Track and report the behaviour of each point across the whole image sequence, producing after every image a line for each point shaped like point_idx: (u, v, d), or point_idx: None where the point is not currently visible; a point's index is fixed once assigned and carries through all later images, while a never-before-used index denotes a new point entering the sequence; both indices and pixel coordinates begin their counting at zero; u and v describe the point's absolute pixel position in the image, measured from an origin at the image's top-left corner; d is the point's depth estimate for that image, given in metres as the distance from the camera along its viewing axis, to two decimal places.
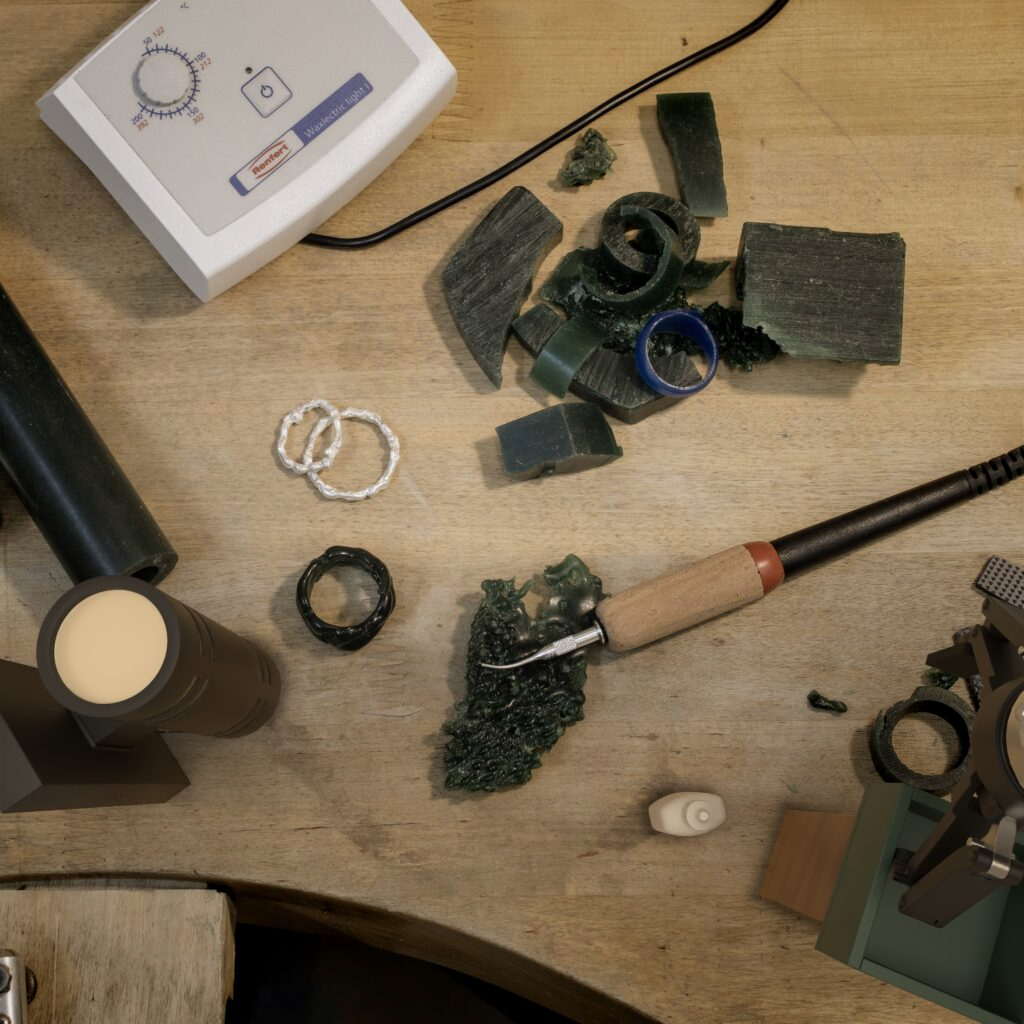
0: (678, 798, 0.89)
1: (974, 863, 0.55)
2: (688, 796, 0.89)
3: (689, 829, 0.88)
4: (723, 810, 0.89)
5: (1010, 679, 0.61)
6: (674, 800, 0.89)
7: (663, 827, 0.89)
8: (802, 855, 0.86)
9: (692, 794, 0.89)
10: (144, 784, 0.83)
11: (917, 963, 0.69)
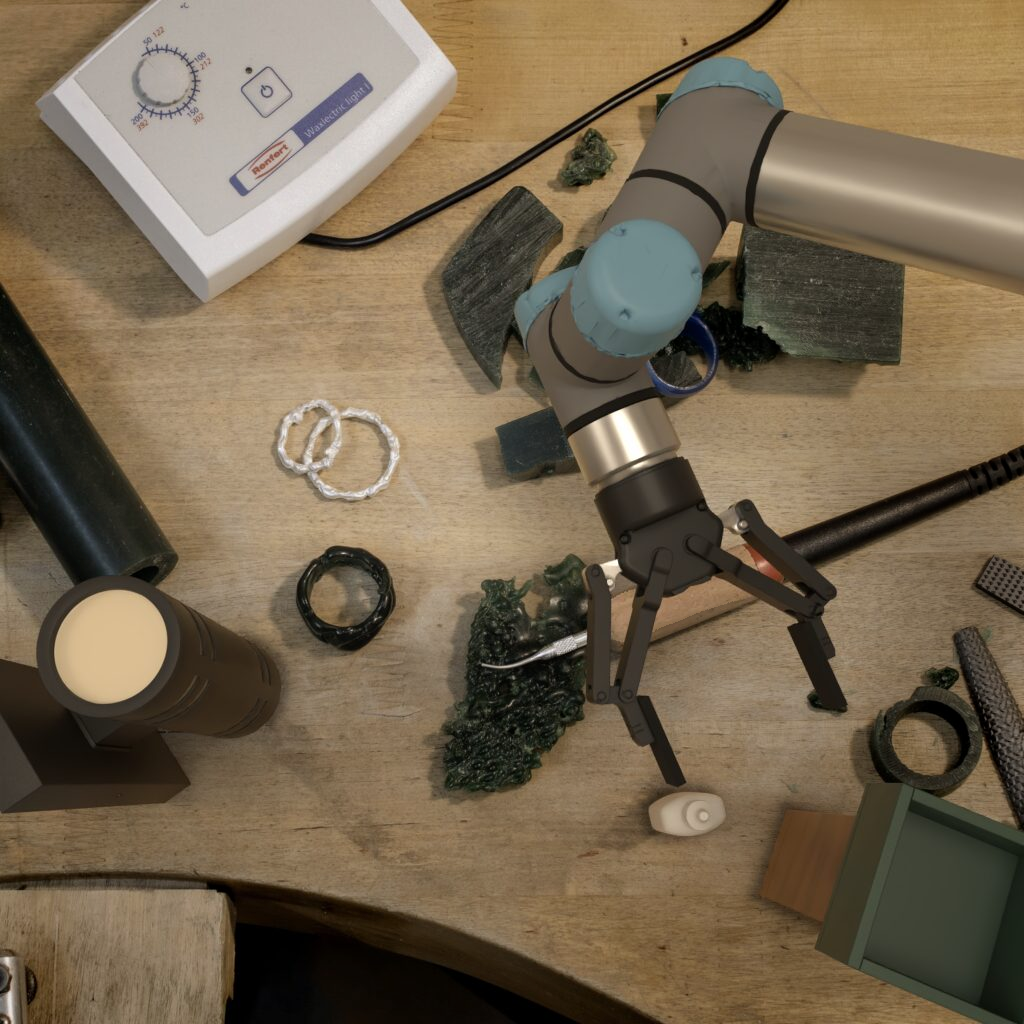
0: (678, 798, 0.89)
1: None
2: (688, 796, 0.89)
3: (689, 829, 0.88)
4: (723, 810, 0.89)
5: None
6: (674, 800, 0.89)
7: (663, 827, 0.89)
8: (802, 855, 0.86)
9: (692, 794, 0.89)
10: (144, 784, 0.83)
11: (917, 963, 0.69)
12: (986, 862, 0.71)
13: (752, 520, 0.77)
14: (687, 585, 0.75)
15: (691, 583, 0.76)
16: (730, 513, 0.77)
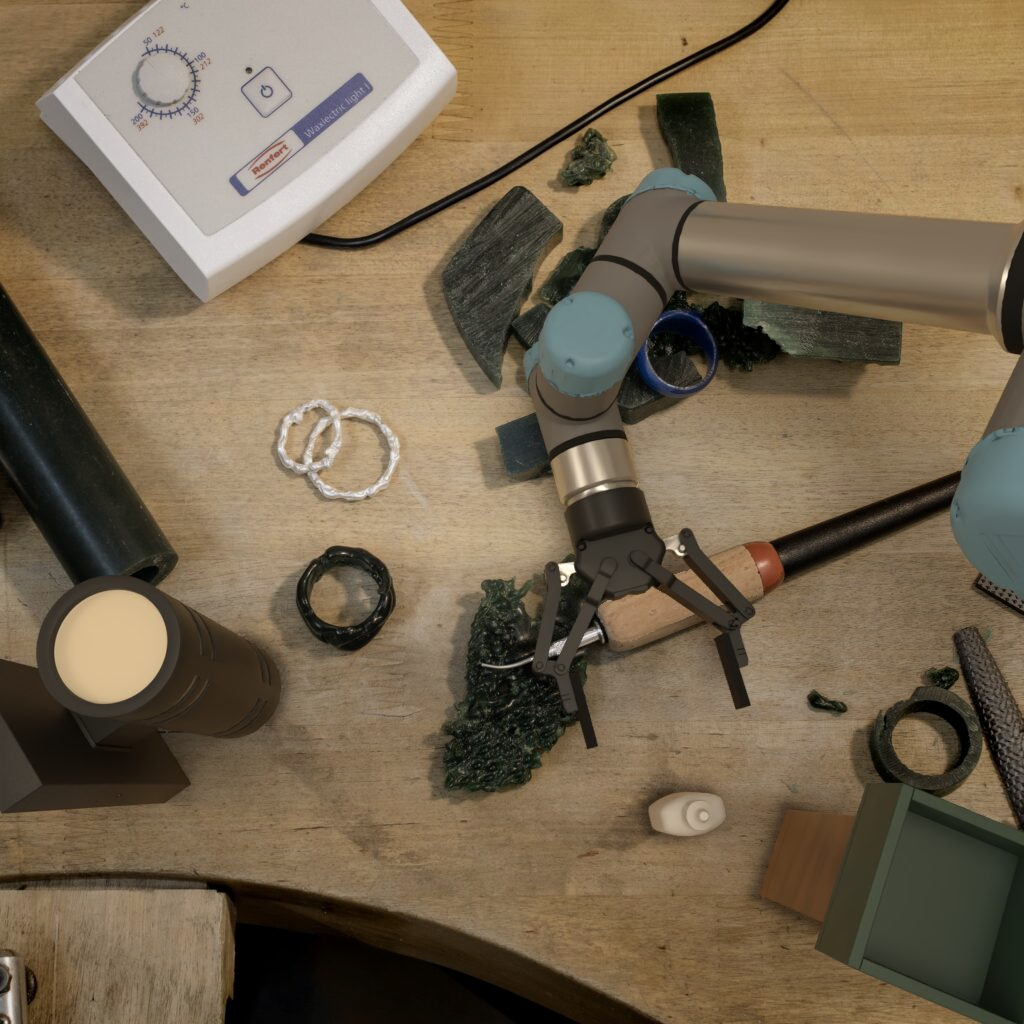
0: (678, 798, 0.89)
1: None
2: (688, 796, 0.89)
3: (689, 829, 0.88)
4: (723, 810, 0.89)
5: None
6: (674, 800, 0.89)
7: (663, 827, 0.89)
8: (802, 855, 0.86)
9: (692, 794, 0.89)
10: (144, 784, 0.83)
11: (917, 963, 0.69)
12: (986, 862, 0.71)
13: (689, 545, 0.94)
14: (626, 590, 0.93)
15: (630, 589, 0.93)
16: (673, 539, 0.94)
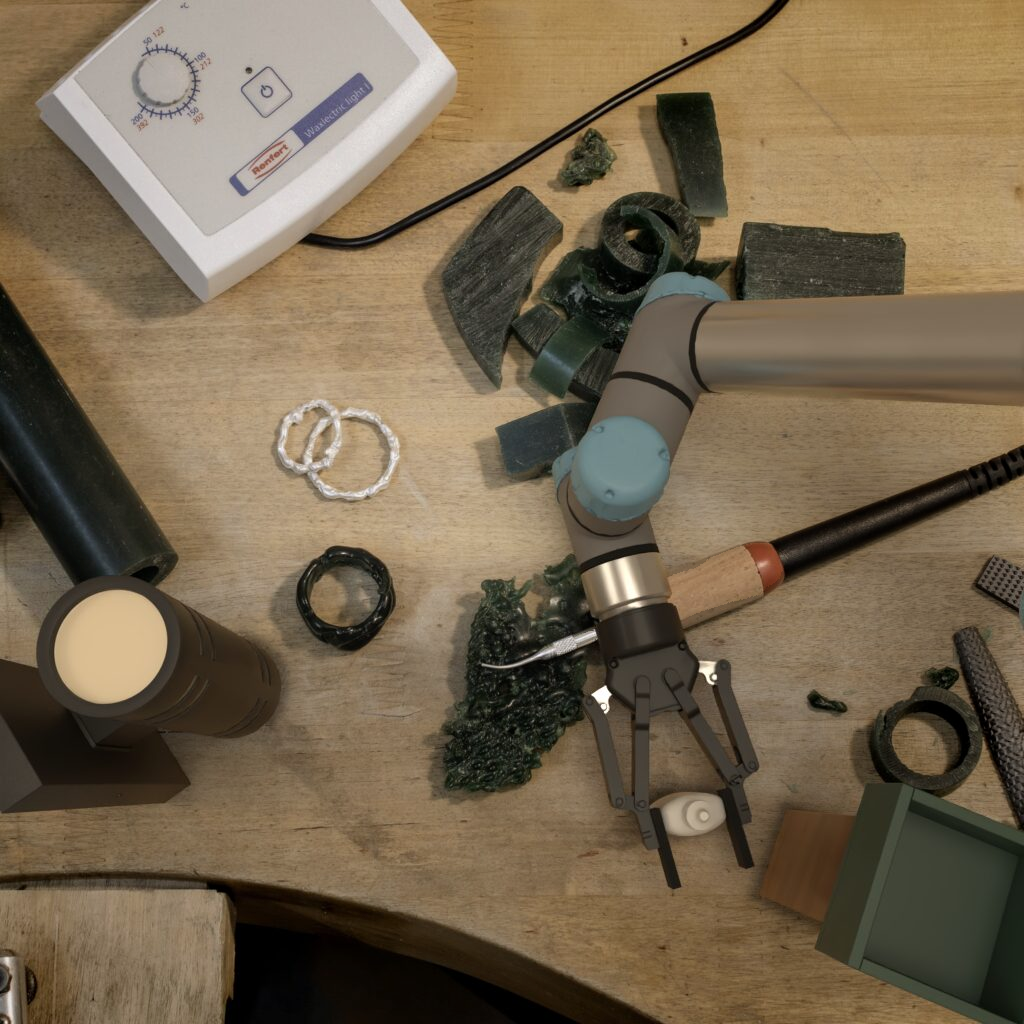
0: (678, 798, 0.89)
1: None
2: (688, 796, 0.89)
3: (689, 829, 0.88)
4: (723, 810, 0.89)
5: None
6: (674, 800, 0.89)
7: None
8: (802, 855, 0.86)
9: (692, 794, 0.89)
10: (144, 784, 0.83)
11: (917, 963, 0.69)
12: (986, 862, 0.71)
13: (722, 678, 0.91)
14: (660, 710, 0.91)
15: (664, 709, 0.91)
16: (710, 664, 0.92)
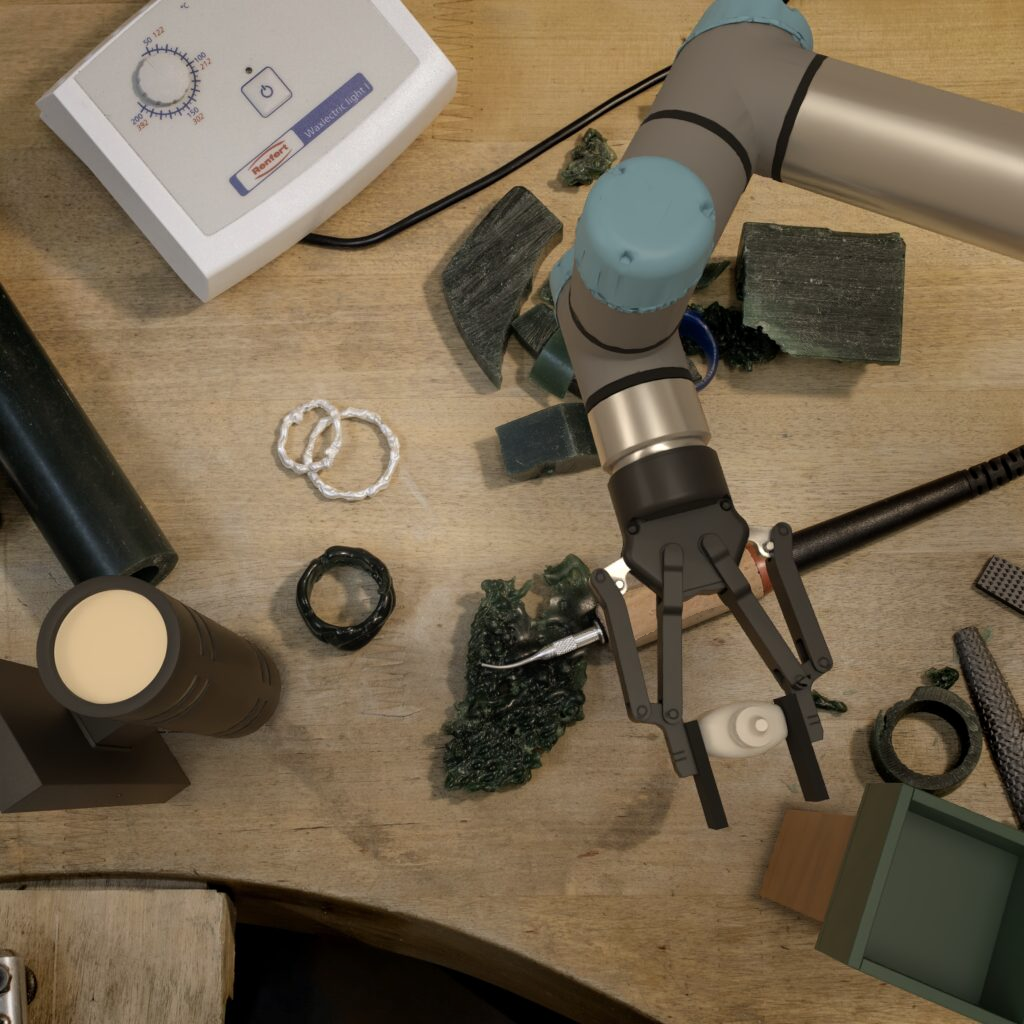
0: (722, 707, 0.65)
1: None
2: (736, 704, 0.65)
3: (738, 748, 0.64)
4: (784, 723, 0.65)
5: None
6: (717, 710, 0.65)
7: None
8: (802, 855, 0.86)
9: (741, 702, 0.65)
10: (144, 784, 0.83)
11: (917, 963, 0.69)
12: (986, 862, 0.71)
13: (781, 546, 0.67)
14: (697, 589, 0.67)
15: (702, 587, 0.67)
16: (763, 530, 0.68)
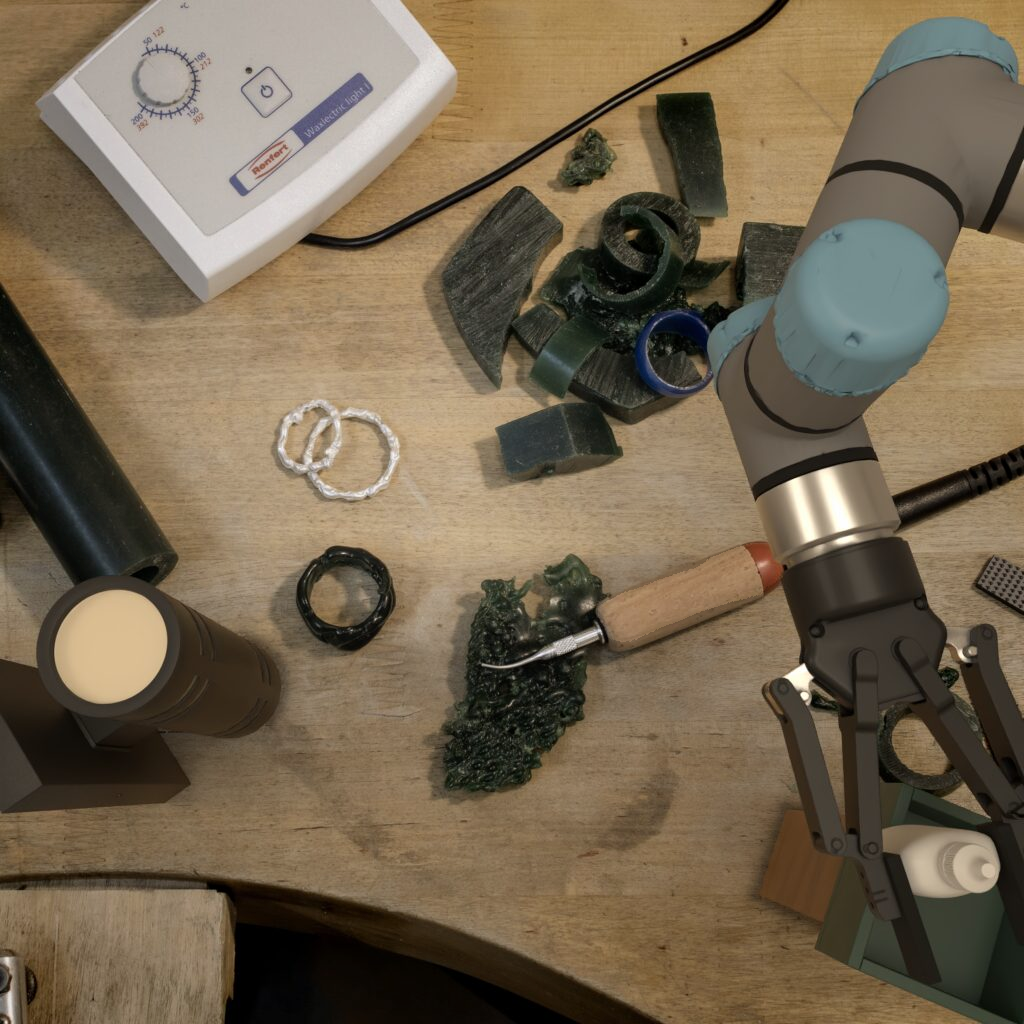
0: (925, 838, 0.57)
1: None
2: (942, 835, 0.57)
3: (948, 888, 0.56)
4: (997, 857, 0.57)
5: None
6: (919, 841, 0.57)
7: None
8: (802, 855, 0.86)
9: (947, 832, 0.57)
10: (144, 784, 0.83)
11: None
12: None
13: (985, 652, 0.59)
14: (892, 701, 0.59)
15: (897, 699, 0.59)
16: (962, 632, 0.60)
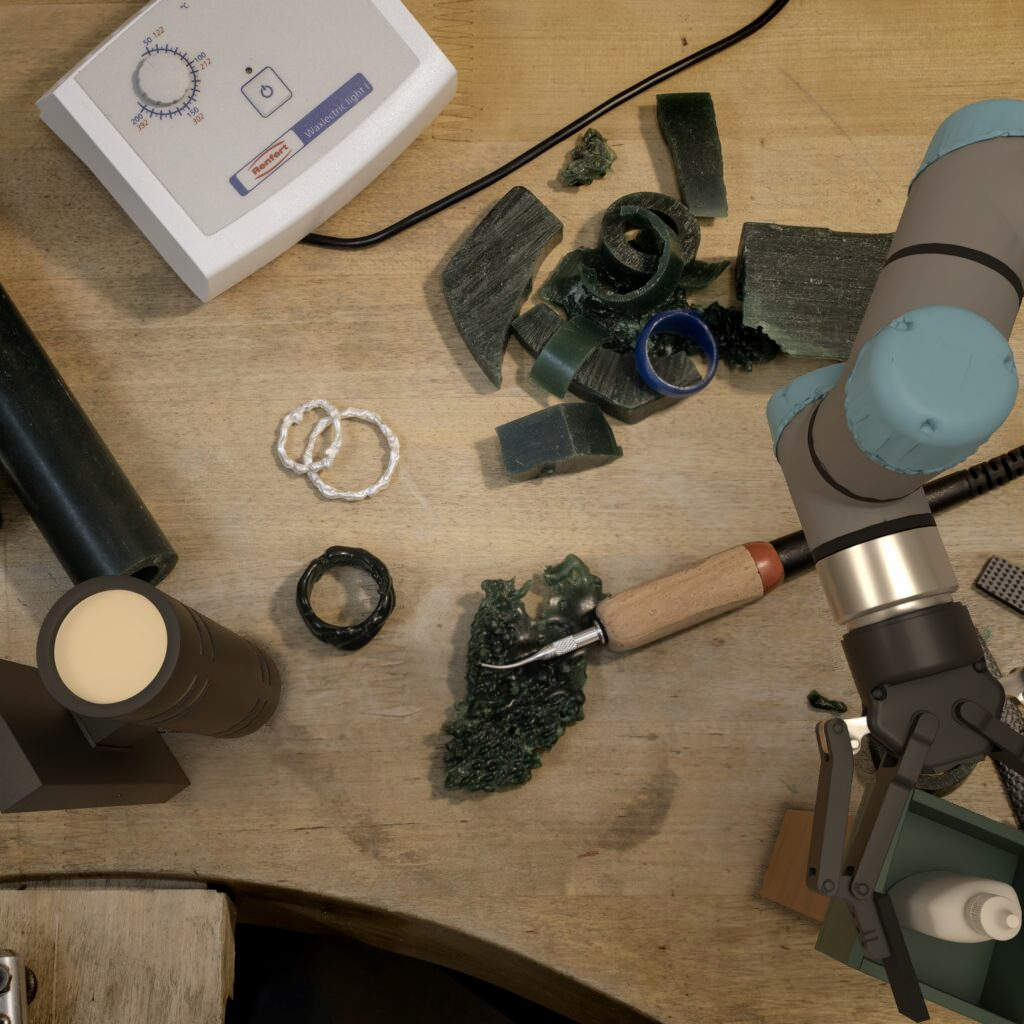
0: (954, 889, 0.63)
1: None
2: (969, 886, 0.63)
3: (975, 934, 0.62)
4: (1019, 905, 0.63)
5: None
6: (948, 891, 0.63)
7: (934, 930, 0.63)
8: (802, 855, 0.86)
9: (973, 883, 0.63)
10: (144, 784, 0.83)
11: (917, 963, 0.69)
12: (986, 862, 0.71)
13: None
14: (953, 763, 0.60)
15: (958, 761, 0.60)
16: (1014, 679, 0.62)
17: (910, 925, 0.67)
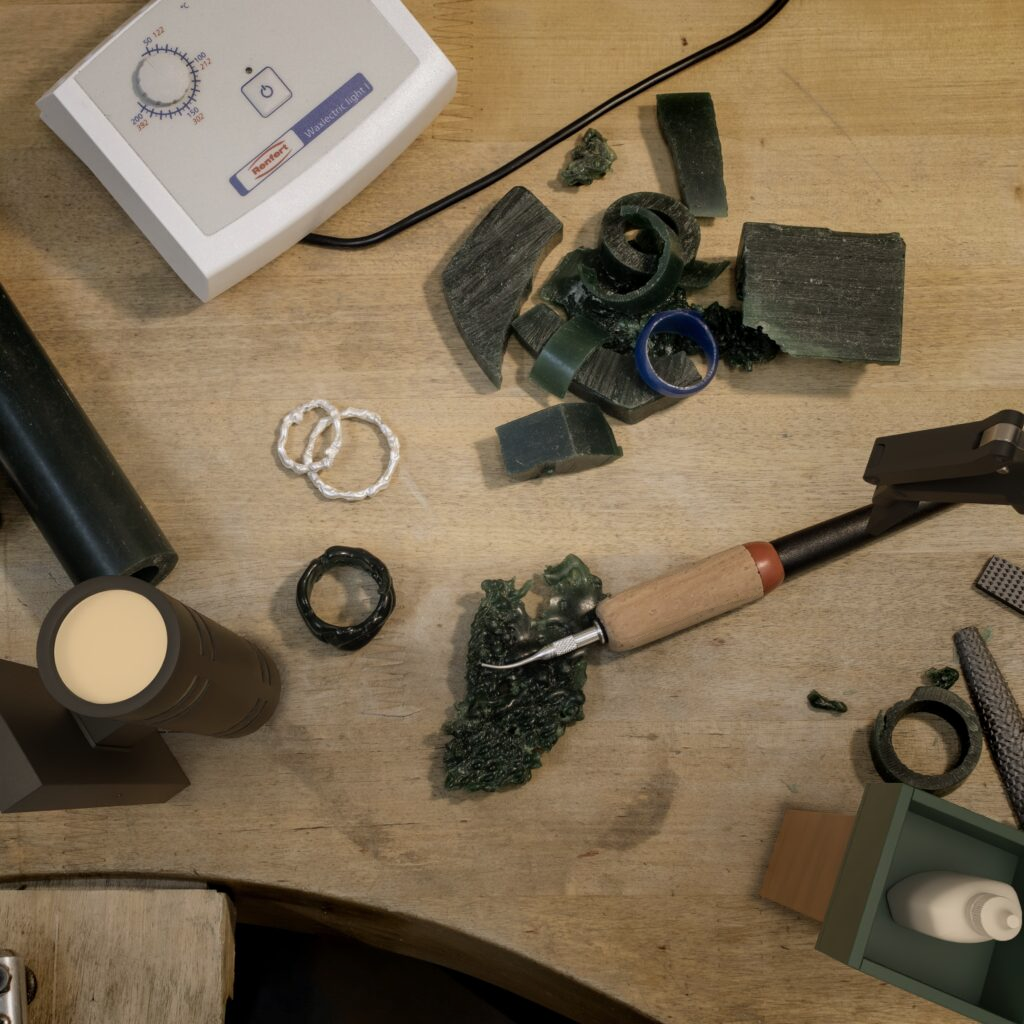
0: (954, 889, 0.63)
1: None
2: (969, 886, 0.63)
3: (976, 935, 0.62)
4: (1019, 906, 0.63)
5: (1003, 478, 0.54)
6: (948, 892, 0.63)
7: (934, 930, 0.63)
8: (802, 855, 0.86)
9: (973, 883, 0.63)
10: (144, 784, 0.83)
11: (917, 963, 0.69)
12: (986, 862, 0.71)
13: None
14: None
15: None
16: None
17: (910, 925, 0.67)
